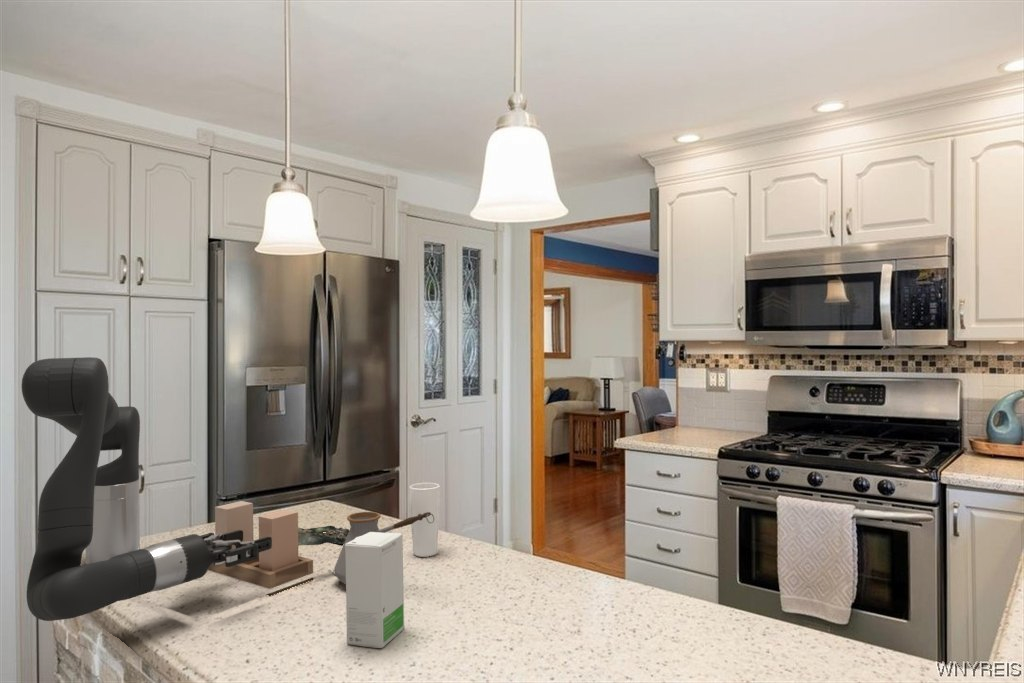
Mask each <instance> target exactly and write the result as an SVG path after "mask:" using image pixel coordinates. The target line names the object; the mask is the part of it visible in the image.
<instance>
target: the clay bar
mask: <svg viewBox="0 0 1024 683" xmlns="http://www.w3.org/2000/svg"><path fill="white" fill-rule="evenodd" d="M298 527H299V512H298V511H294V510H287V509H282V510H279V511H278V510H277V511H275V512H271V513H270V512H269V513H267V514H261V515H259V516H258V539H261V538H264V537H271V538H272V547H271V549H269V550H265V551H262V552H259V568H260V569H264V570H268V571H274V570H277V569H280V568H283V567H286V566H289V565H292V564H295V563H298V562H299V557H298V556H299V546H298Z"/></svg>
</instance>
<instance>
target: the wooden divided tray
mask: <svg viewBox="0 0 1024 683" xmlns="http://www.w3.org/2000/svg"><path fill="white" fill-rule="evenodd" d="M247 553H248V552H247ZM298 557H299V562H298V563H295V564H292V565H289V566H286V567H283V568H280V569H277V570H274V571H268V570H264V569H260V568H259V553H258V558H257V559H255V560H251V561H247V562H244V563H241V564H237V565H234V566H231V567H226V566H225V562H224V563H222V564H218V565H213V564H211V565H210V567H209V568H208V570H209V571H211V572H215V573H218V574H221V575H224V576H228V577H231V578H234V579H238V580H240V581H244V582H247V583H250V584H254V585H257V586H260V587H263V588H267V589H272V588H274V587H278V586H280V585H283V584H286V583H290V582H292V581H294V580H297V579H300V578H303V577H306V576H308V575H311V574H313V573H314V560H313V559H311V558H307V557H303V556H299V555H298ZM311 580H312V581H314V577H310V578H307V579H304V580H301V581H299V582H297V583H294V584H290V585H288V586H284V587H283V588H279V589H277V590H274V591H272V592H270V593H266V594H265V596H267V595H269V596H268V597H272V596H275V595H278V594H280V593H283V592H285V591H284V590H286V591H288V590H290V588H291V589H293V588H292V587H294V588H296V587H299V586H301V585H300V584H302V585H304V584H306V582H307V583H309V582H308V581H310V582H312V581H311ZM303 583H304V584H303ZM298 585H299V586H298ZM295 586H296V587H295ZM287 589H288V590H287ZM282 591H283V592H282ZM279 592H280V593H279ZM277 593H278V594H277ZM274 594H275V595H274ZM271 595H272V596H271Z"/></svg>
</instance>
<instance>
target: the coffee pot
mask: <svg viewBox="0 0 1024 683" xmlns="http://www.w3.org/2000/svg"><path fill="white" fill-rule="evenodd" d="M430 515H432V516H433V514H431V513H430V512H427V513H424V514H418V516H415V517H410V516H409V517H407V518H406V519H405V518H404V519H403V520H400V521H399V522H398V521H397V522H396V523H394V524H393V525H390V526H385V527H383V528H380V529H379V527H378V523H379V519H380V518H381V516H382V515H381V514H380V513H378V512H375V511H374V512H373V511H361V512H354V513H351V514H349V515H348V516H346V520H347V521H348V522H349V525H350V528H349V533H348V535H347V538H346V540H345V543H344V545H343V546H342V548H341V551H340V552H339V556H338V557H337V560H336V563H335V565H334V569H333V572H334V575H335V577H336V578H337V579H338V580H339V581H340V583H342V584H344V583H345V584H344V586H345V585H346V556H345V544H346V543H348V542H350V541H352V540H354V539H355V538H356V537H359V536H362V535H364V534H367V533H369V532H381V533H389V532H390V531H394V530H396V529H399V528H403V527H407V526H411V524H412V523H414V522H416V521H418V520H422V519H423V518H426V519H427V521H428V518H427V517H428V516H430ZM428 522H429V521H428ZM433 522H434V516H433ZM433 522H429V523H433Z"/></svg>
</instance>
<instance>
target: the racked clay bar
mask: <svg viewBox="0 0 1024 683" xmlns="http://www.w3.org/2000/svg"><path fill="white" fill-rule="evenodd" d="M214 522H215V523H214V525H215V526H214V527H215V528H214V529H215V530H214V532H215V533H214V535H216V534H218V533H222V534H225V533H229V532H233V531H237V530H242V531H243V541H242V542H248V541H254V540H255V539H254V503H252V502H247V501H242V500H240V501H235V502H231V503H227V504H222V505H218V506H214ZM242 547H243V546H242ZM232 549H236V546H235V545H232ZM247 552H248V550H247V551H246V553H247Z"/></svg>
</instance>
